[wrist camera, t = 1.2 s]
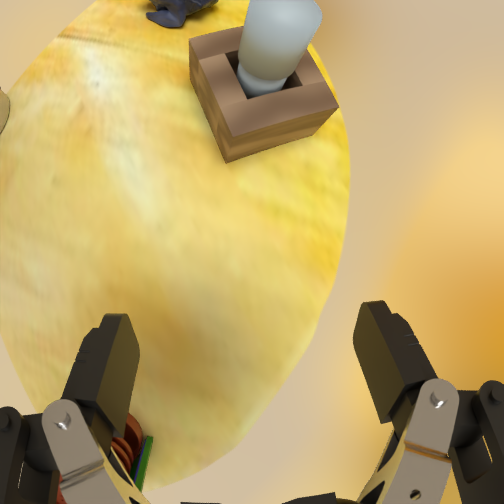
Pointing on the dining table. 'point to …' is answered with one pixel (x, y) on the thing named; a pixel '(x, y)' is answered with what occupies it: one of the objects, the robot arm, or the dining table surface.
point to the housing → (259, 108)
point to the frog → (176, 10)
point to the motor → (128, 454)
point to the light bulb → (274, 43)
